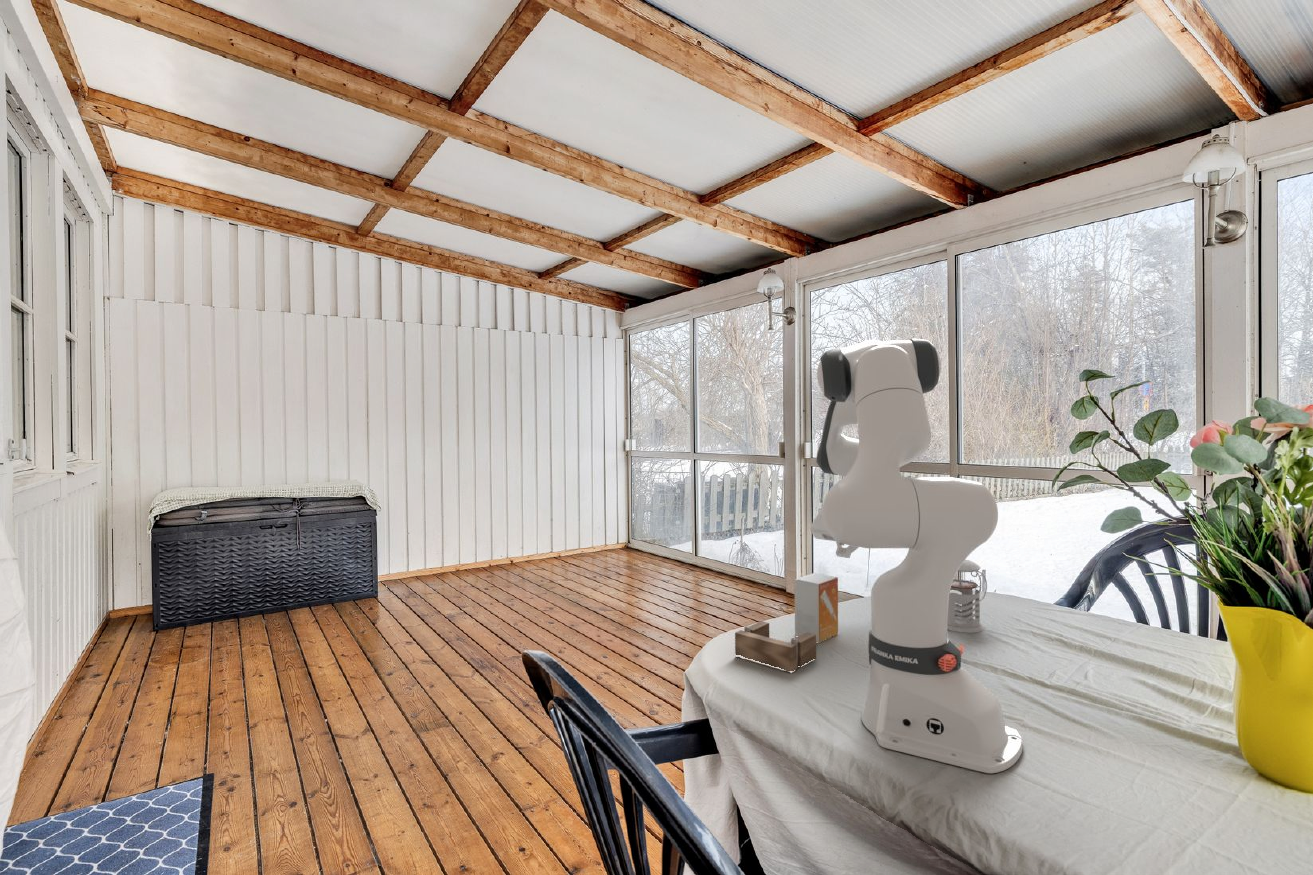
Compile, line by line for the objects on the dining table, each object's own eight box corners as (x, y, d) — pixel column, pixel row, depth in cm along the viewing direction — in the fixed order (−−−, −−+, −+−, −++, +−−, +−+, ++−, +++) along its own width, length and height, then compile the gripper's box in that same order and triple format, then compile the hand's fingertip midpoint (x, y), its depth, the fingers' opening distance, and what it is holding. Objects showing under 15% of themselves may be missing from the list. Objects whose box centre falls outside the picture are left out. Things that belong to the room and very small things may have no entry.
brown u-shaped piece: (816, 658, 128) (815, 631, 128) (791, 673, 121) (790, 644, 121) (761, 644, 137) (761, 618, 137) (735, 656, 130) (734, 629, 130)
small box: (819, 644, 136) (818, 583, 136) (794, 637, 141) (793, 578, 140) (839, 634, 142) (838, 576, 141) (814, 628, 146) (813, 572, 146)
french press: (927, 621, 150) (927, 515, 149) (967, 615, 153) (967, 511, 152) (959, 634, 140) (958, 521, 139) (1001, 628, 144) (1001, 518, 143)
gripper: (817, 497, 162) (798, 542, 155) (897, 504, 148) (879, 554, 141) (826, 512, 165) (807, 557, 159) (905, 521, 151) (888, 570, 145)
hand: (842, 555), depth 150 cm, fingers closed
